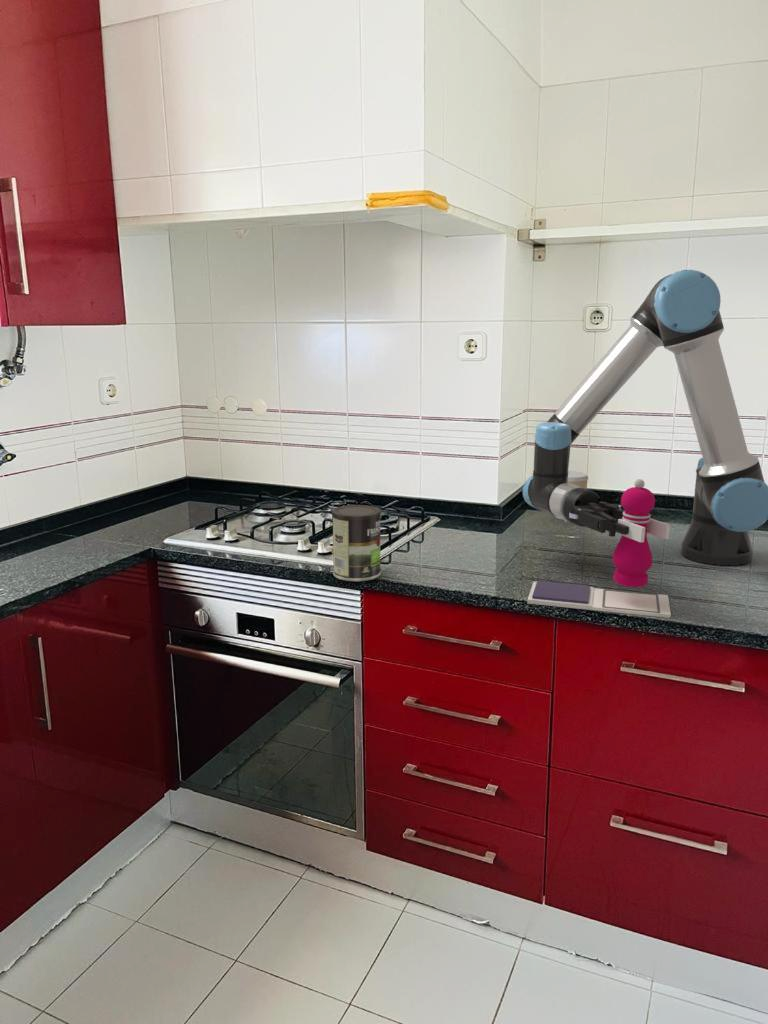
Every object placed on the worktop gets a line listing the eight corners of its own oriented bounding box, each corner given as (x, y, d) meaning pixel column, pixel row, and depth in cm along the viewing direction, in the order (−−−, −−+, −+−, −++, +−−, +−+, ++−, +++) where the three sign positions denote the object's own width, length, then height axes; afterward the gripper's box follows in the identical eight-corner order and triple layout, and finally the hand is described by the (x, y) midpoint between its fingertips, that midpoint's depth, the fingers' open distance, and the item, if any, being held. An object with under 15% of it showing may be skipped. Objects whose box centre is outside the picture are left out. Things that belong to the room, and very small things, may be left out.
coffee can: (388, 569, 171) (388, 506, 168) (369, 584, 162) (369, 518, 158) (344, 564, 175) (344, 502, 171) (324, 578, 165) (323, 513, 162)
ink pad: (593, 590, 158) (594, 584, 157) (591, 610, 148) (592, 603, 147) (533, 585, 161) (533, 579, 161) (527, 603, 151) (527, 597, 151)
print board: (667, 598, 154) (667, 594, 154) (670, 618, 144) (670, 614, 144) (593, 590, 158) (594, 587, 158) (591, 610, 148) (591, 606, 147)
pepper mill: (624, 589, 145) (634, 484, 141) (603, 577, 152) (611, 476, 147) (658, 586, 147) (668, 482, 143) (635, 574, 154) (645, 474, 149)
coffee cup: (575, 511, 222) (577, 469, 219) (592, 519, 213) (594, 476, 210) (545, 513, 220) (547, 471, 217) (560, 521, 211) (563, 478, 208)
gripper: (609, 518, 167) (691, 548, 147) (538, 526, 160) (613, 558, 140) (612, 484, 166) (695, 509, 145) (541, 490, 159) (617, 517, 138)
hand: (655, 533), depth 142 cm, fingers closed on pepper mill, 5 cm apart
